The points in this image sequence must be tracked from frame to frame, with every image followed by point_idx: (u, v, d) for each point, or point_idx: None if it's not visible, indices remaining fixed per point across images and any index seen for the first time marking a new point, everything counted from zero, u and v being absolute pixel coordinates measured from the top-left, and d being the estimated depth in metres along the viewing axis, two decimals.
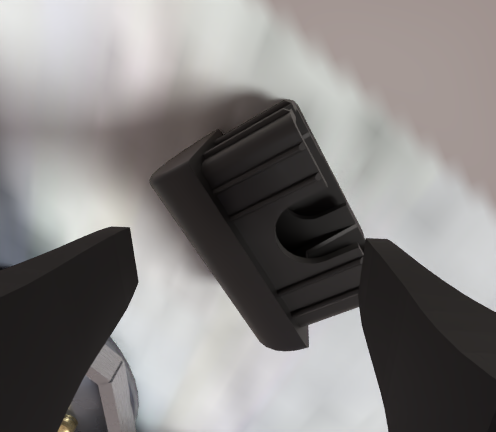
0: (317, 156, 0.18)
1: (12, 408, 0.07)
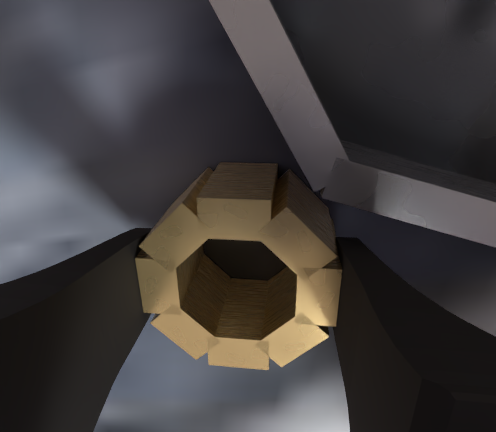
0: None
1: (52, 412, 0.07)
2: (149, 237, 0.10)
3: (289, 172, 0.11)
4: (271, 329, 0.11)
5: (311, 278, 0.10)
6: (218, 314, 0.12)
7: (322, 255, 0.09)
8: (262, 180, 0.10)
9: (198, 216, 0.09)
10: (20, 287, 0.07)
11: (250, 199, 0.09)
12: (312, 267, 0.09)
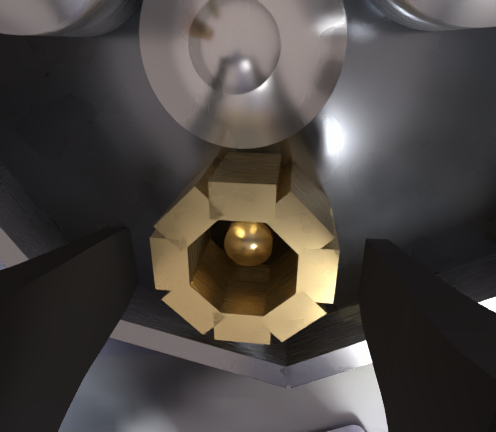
0: None
1: (12, 408, 0.07)
2: (163, 218, 0.11)
3: (292, 162, 0.12)
4: (273, 306, 0.12)
5: (311, 257, 0.10)
6: (223, 293, 0.13)
7: (322, 236, 0.10)
8: (267, 168, 0.11)
9: (209, 198, 0.10)
10: None
11: (257, 184, 0.10)
12: (312, 247, 0.10)
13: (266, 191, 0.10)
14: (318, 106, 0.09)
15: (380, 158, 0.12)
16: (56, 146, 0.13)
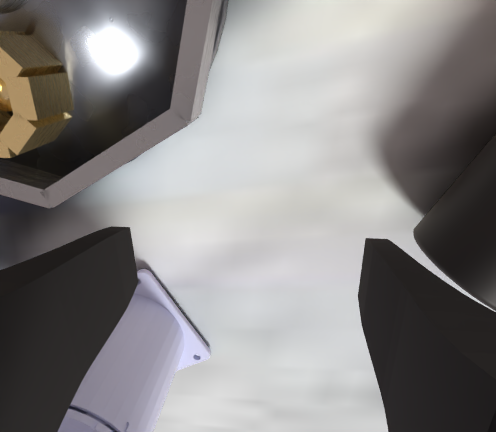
0: None
1: (12, 408, 0.07)
2: None
3: (28, 35, 0.18)
4: None
5: (13, 84, 0.16)
6: None
7: (14, 67, 0.16)
8: None
9: None
10: None
11: None
12: (11, 76, 0.16)
13: None
14: None
15: (87, 32, 0.18)
16: None
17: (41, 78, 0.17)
